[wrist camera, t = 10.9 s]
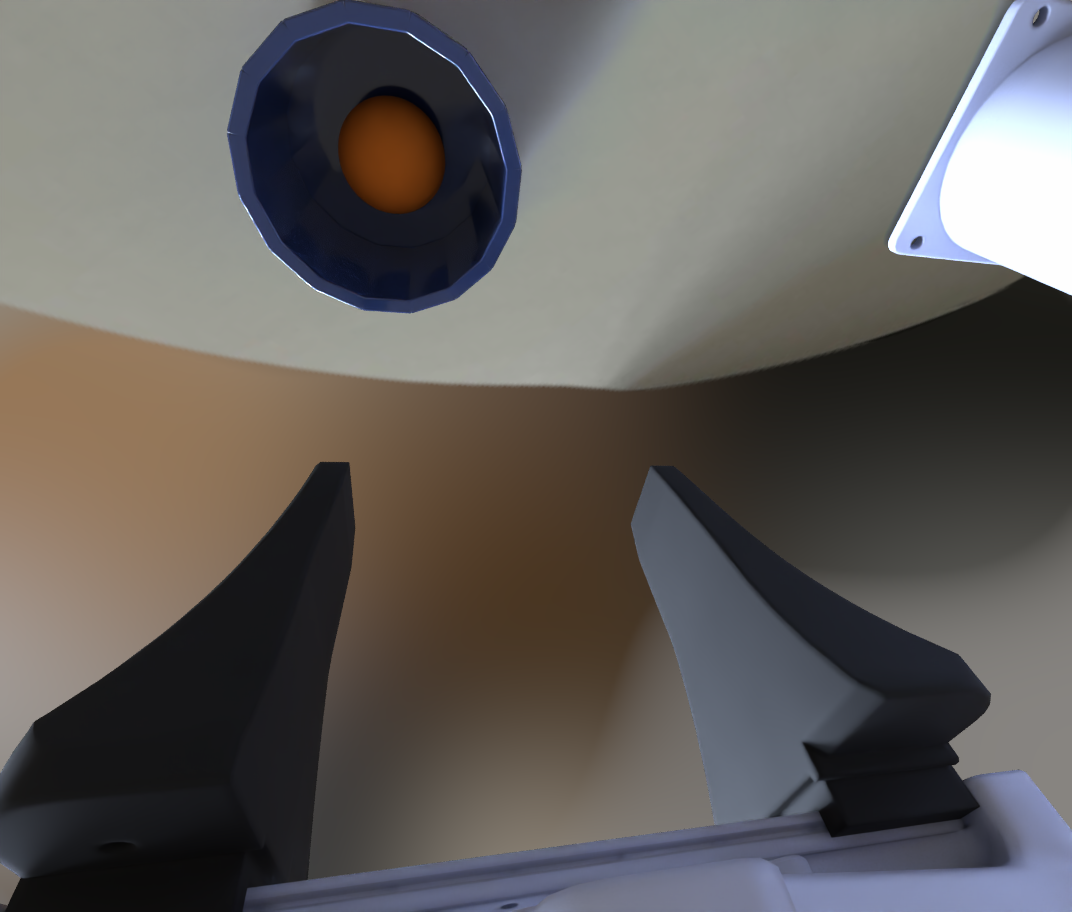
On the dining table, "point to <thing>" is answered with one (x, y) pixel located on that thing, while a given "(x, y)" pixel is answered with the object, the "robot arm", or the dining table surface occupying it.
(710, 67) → the dining table surface
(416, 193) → the ball
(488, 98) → the blue cup
